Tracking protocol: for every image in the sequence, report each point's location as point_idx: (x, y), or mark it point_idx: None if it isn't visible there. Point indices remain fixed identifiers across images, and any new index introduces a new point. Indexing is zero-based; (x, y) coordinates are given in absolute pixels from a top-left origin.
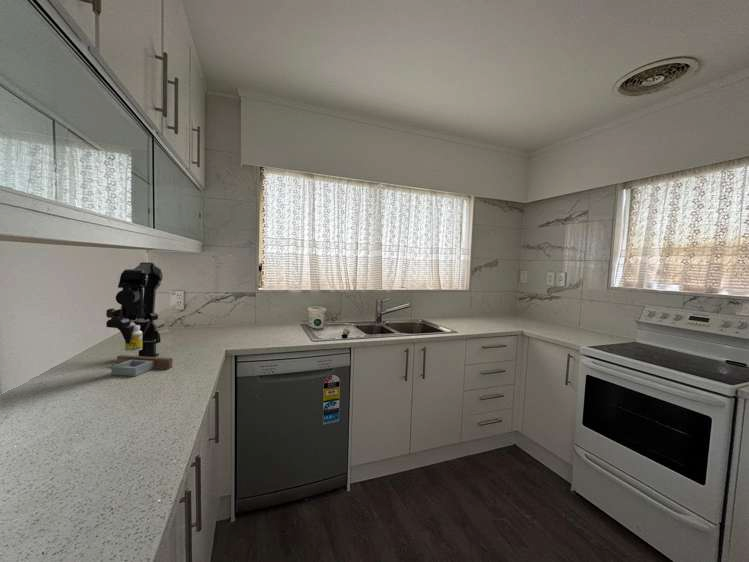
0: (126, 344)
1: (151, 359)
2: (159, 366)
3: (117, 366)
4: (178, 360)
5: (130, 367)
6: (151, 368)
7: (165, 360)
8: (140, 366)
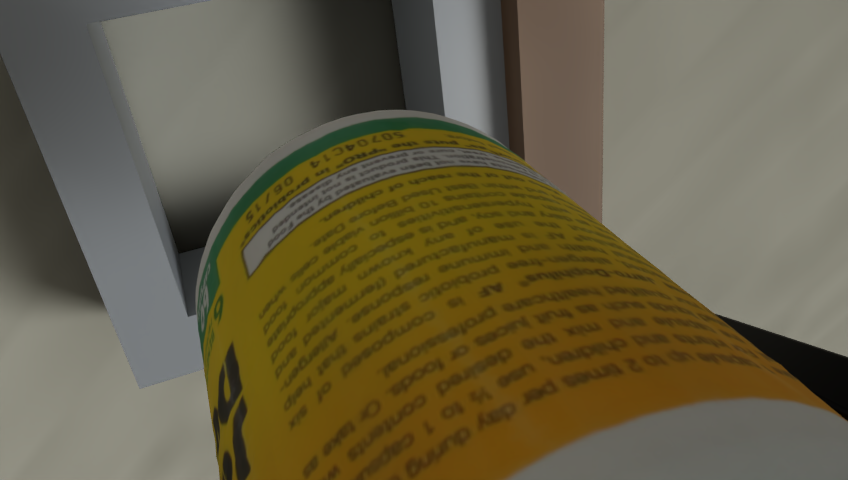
0: (213, 406)
1: None
2: None
3: (42, 50)
4: (772, 196)
5: (126, 297)
6: None
7: None
8: None
